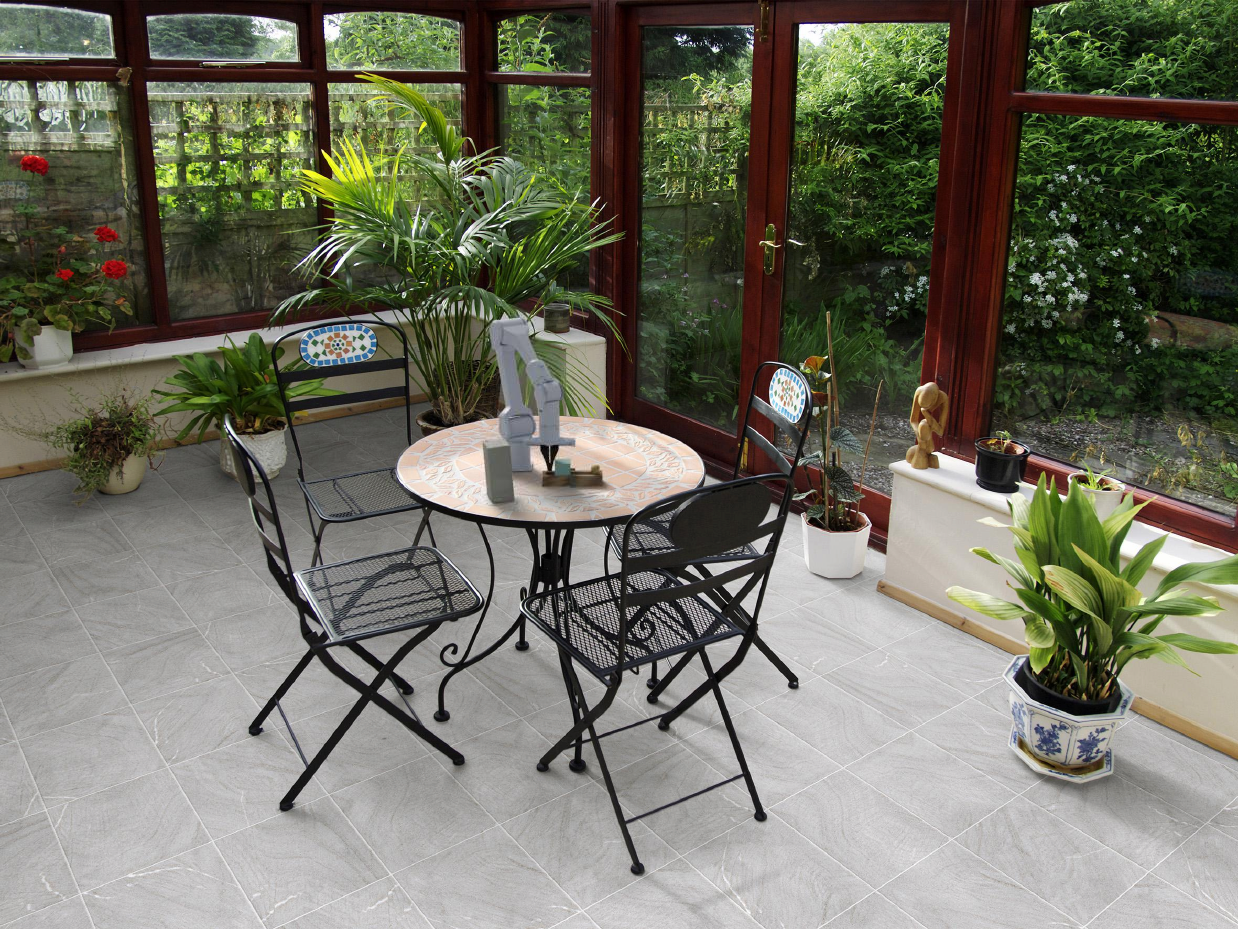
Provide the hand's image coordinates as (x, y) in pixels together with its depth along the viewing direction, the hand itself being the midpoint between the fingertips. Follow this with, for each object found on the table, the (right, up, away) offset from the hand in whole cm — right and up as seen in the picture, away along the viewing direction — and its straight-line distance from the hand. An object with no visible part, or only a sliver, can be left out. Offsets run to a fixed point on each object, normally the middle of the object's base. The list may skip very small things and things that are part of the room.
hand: (549, 470), depth 312 cm
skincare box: (-13, -8, -10) cm, 18 cm away
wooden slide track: (+6, -4, +2) cm, 7 cm away
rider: (+4, -2, +1) cm, 4 cm away
